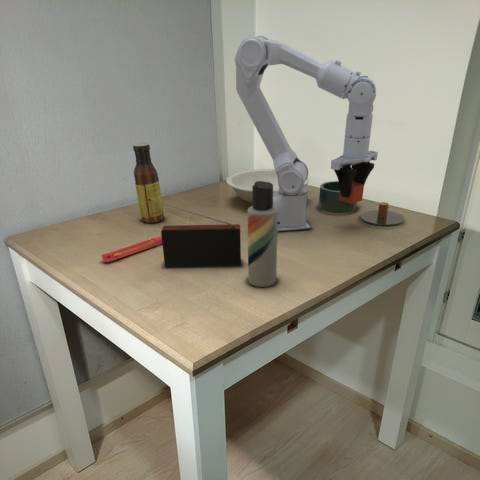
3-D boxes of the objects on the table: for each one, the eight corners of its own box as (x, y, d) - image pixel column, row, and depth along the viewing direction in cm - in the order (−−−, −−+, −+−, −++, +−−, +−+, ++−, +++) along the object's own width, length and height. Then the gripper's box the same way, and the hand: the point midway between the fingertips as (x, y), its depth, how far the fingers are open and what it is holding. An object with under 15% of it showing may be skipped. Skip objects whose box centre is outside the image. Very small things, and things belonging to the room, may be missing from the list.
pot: (325, 216, 129) (327, 193, 125) (314, 204, 137) (315, 182, 134) (361, 213, 130) (364, 190, 126) (348, 202, 139) (350, 180, 135)
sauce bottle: (166, 216, 131) (158, 141, 120) (161, 224, 126) (152, 146, 115) (143, 216, 132) (133, 141, 121) (137, 223, 126) (126, 146, 116)
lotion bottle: (259, 272, 99) (259, 177, 89) (281, 279, 96) (284, 181, 86) (242, 282, 96) (240, 183, 85) (265, 290, 93) (265, 189, 82)
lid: (369, 230, 119) (372, 212, 117) (353, 215, 128) (355, 198, 126) (411, 226, 120) (414, 208, 118) (392, 212, 130) (394, 195, 127)
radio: (240, 260, 105) (239, 193, 97) (240, 266, 102) (239, 198, 95) (157, 261, 105) (149, 195, 97) (155, 267, 103) (147, 199, 95)
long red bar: (100, 263, 107) (109, 262, 103) (97, 254, 106) (106, 253, 103) (182, 234, 121) (193, 233, 118) (180, 226, 121) (191, 225, 117)
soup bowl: (215, 211, 134) (214, 188, 130) (240, 187, 153) (240, 166, 150) (299, 218, 128) (300, 193, 124) (313, 192, 147) (315, 171, 144)
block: (351, 204, 114) (353, 187, 112) (338, 200, 116) (340, 183, 114) (362, 200, 116) (364, 184, 114) (349, 196, 118) (351, 180, 116)
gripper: (350, 143, 102) (344, 204, 109) (391, 134, 109) (382, 192, 116) (326, 138, 106) (321, 197, 113) (366, 130, 114) (360, 186, 121)
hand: (351, 194), depth 115 cm, fingers closed on block, 4 cm apart
